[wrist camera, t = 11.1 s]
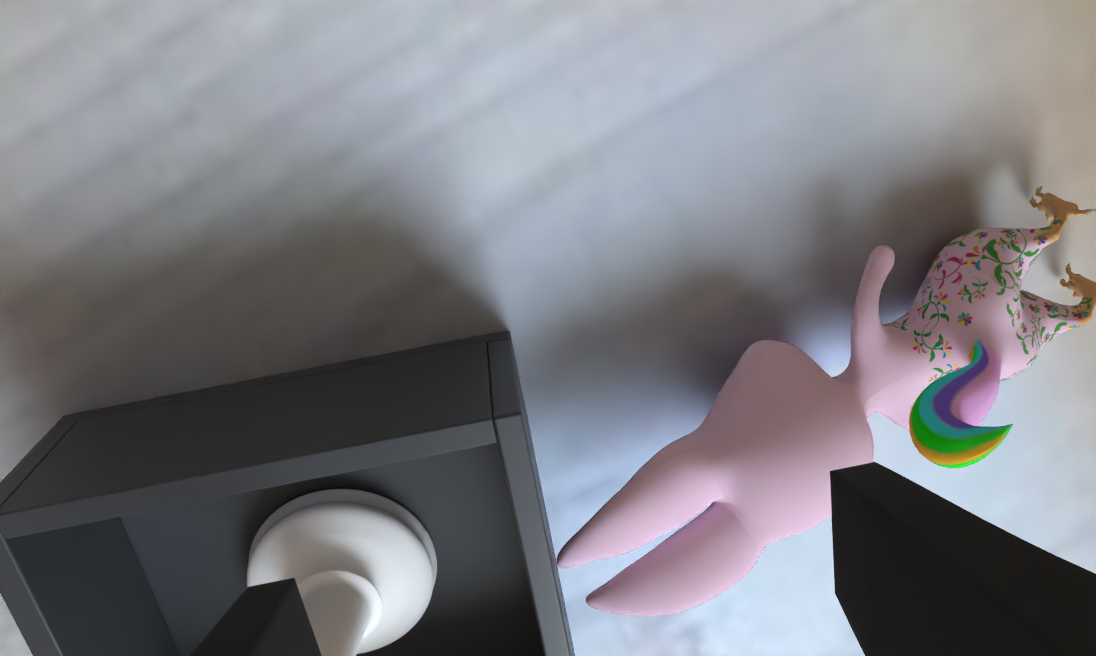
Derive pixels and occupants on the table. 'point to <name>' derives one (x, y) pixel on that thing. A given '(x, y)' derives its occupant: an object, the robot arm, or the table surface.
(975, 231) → the rabbit figure
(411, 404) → the bin
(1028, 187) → the table surface
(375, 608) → the chess piece
